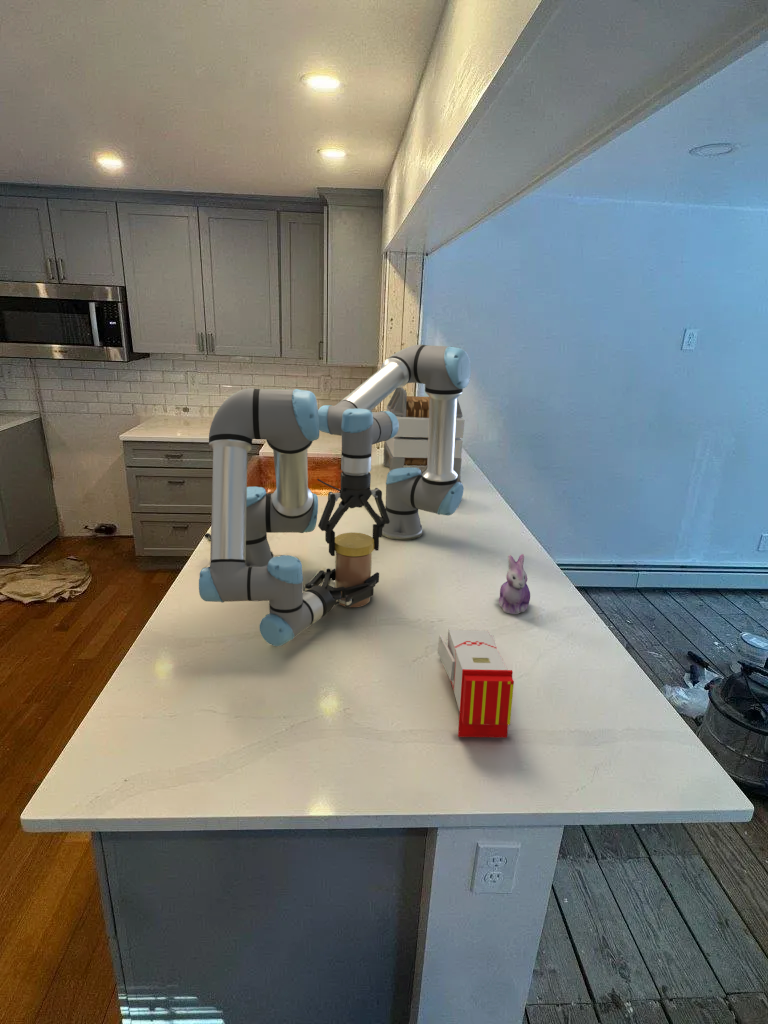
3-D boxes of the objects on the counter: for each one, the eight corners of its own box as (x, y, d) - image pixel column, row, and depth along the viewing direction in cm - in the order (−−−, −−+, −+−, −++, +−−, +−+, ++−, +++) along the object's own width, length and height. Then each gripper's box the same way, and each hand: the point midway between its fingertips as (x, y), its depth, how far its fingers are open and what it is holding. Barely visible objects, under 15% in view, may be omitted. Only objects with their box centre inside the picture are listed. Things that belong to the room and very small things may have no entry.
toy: (488, 613, 130) (523, 677, 101) (484, 667, 133) (517, 744, 104) (435, 612, 130) (455, 676, 101) (432, 666, 133) (451, 743, 103)
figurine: (512, 619, 147) (519, 566, 142) (488, 601, 156) (494, 551, 151) (540, 611, 151) (548, 560, 146) (515, 594, 160) (522, 546, 155)
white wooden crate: (382, 463, 289) (386, 382, 275) (445, 464, 293) (451, 384, 279) (390, 482, 257) (394, 392, 243) (460, 483, 261) (468, 394, 247)
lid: (376, 556, 145) (377, 547, 144) (335, 557, 143) (335, 548, 143) (370, 540, 155) (371, 532, 154) (332, 541, 153) (332, 532, 152)
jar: (339, 609, 149) (341, 551, 143) (331, 592, 157) (331, 537, 151) (374, 604, 152) (377, 547, 146) (364, 588, 160) (365, 534, 154)
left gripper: (277, 605, 144) (328, 574, 162) (350, 632, 134) (396, 595, 152) (276, 579, 141) (328, 550, 160) (351, 604, 131) (397, 570, 149)
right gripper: (393, 464, 150) (389, 540, 157) (305, 470, 141) (306, 551, 148) (405, 472, 143) (400, 551, 151) (313, 479, 134) (313, 562, 142)
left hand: (361, 572), depth 156 cm, fingers closed on jar, 10 cm apart
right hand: (353, 551), depth 150 cm, fingers open, 11 cm apart
